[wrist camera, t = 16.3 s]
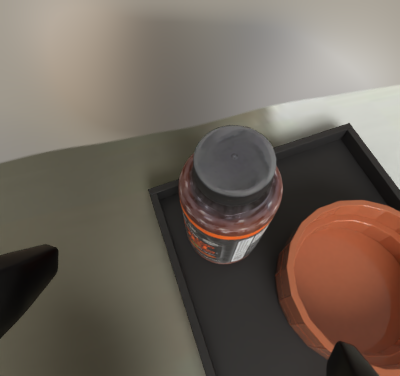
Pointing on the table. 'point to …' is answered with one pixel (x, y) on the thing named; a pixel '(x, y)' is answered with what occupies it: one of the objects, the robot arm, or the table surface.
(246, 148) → the supplement bottle
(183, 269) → the tray
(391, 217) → the bowl
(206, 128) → the table surface
